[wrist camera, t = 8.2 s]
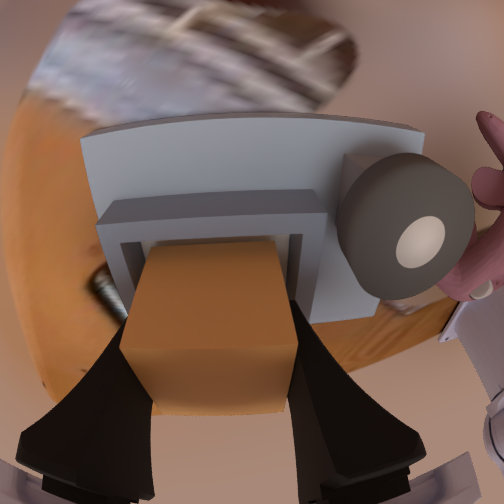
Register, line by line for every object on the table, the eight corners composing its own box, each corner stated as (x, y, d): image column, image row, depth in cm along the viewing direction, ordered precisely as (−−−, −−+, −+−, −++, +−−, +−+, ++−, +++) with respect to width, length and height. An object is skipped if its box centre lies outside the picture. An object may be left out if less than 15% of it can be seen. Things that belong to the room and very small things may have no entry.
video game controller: (402, 242, 17) (468, 323, 13) (379, 231, 14) (464, 336, 10) (485, 134, 12) (560, 206, 8) (480, 96, 9) (579, 182, 5)
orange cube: (274, 240, 11) (298, 343, 7) (270, 322, 14) (283, 411, 10) (151, 246, 11) (119, 347, 7) (173, 326, 14) (162, 414, 10)
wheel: (431, 144, 10) (490, 179, 7) (407, 241, 13) (446, 292, 10) (326, 131, 9) (371, 163, 6) (313, 245, 12) (339, 307, 9)
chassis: (407, 125, 11) (453, 147, 8) (365, 299, 17) (384, 341, 14) (95, 130, 10) (54, 154, 7) (143, 311, 16) (132, 358, 14)
